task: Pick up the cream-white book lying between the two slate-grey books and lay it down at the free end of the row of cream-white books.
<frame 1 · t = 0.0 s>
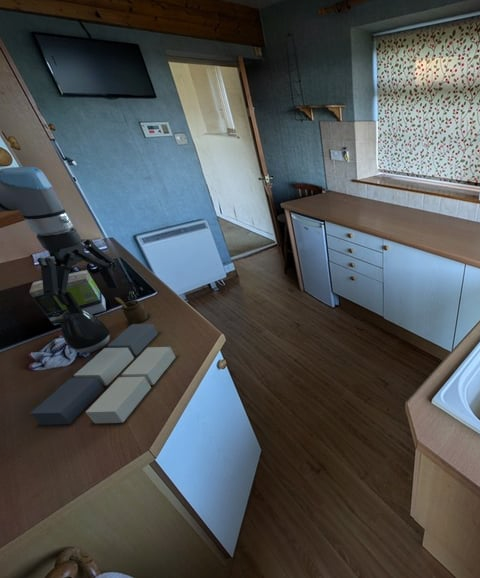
hand: (96, 299, 87), 19 cm above the worktop, tool pointing down, fingers open, 13 cm apart
grey book b: (137, 344, 98), on the worktop
white book a: (124, 404, 78), on the worktop
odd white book: (109, 371, 88), on the worktop
utensil holder: (138, 320, 110), on the worktop
white book b: (153, 370, 88), on the worktop
tea box: (81, 313, 113), on the worktop
grey book a: (74, 405, 78), on the worktop
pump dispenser: (95, 347, 97), on the worktop
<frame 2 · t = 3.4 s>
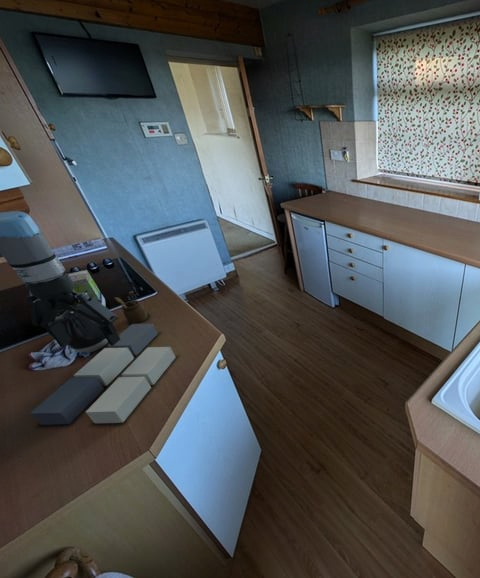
hand: (91, 343, 82), 11 cm above the worktop, tool pointing down, fingers open, 13 cm apart
nothing on the worktop moved.
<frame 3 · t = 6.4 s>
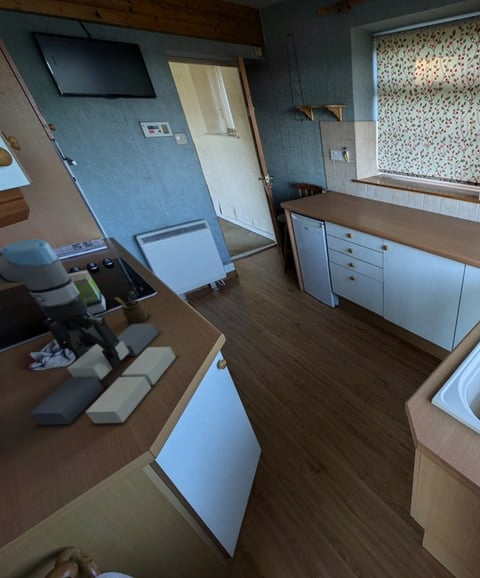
hand: (103, 364, 86), 3 cm above the worktop, tool pointing down, fingers closed on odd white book, 7 cm apart
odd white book: (103, 365, 87), point 3 cm above the worktop, touching gripper
everything else where it was.
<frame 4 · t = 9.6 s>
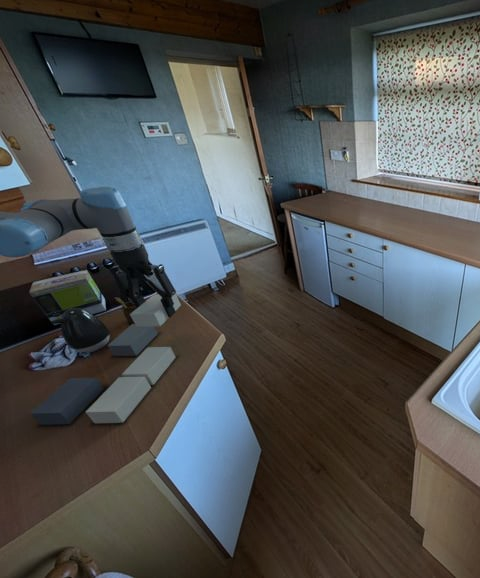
hand: (159, 314, 92), 13 cm above the worktop, tool pointing down, fingers closed on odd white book, 7 cm apart
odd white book: (159, 315, 92), point 12 cm above the worktop, touching gripper
everything else where it was.
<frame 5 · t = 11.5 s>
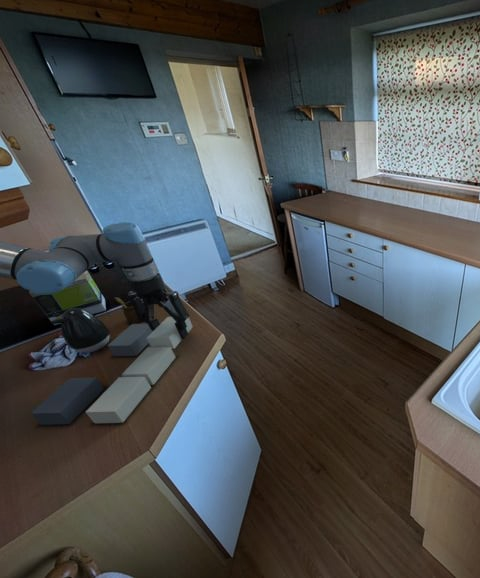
hand: (173, 336, 97), 3 cm above the worktop, tool pointing down, fingers closed on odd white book, 7 cm apart
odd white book: (173, 337, 97), point 3 cm above the worktop, touching gripper
everything else where it was.
when the fingers open (0 cm above the worktop, at t = 12.7 s): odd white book stays where it is, on the worktop.
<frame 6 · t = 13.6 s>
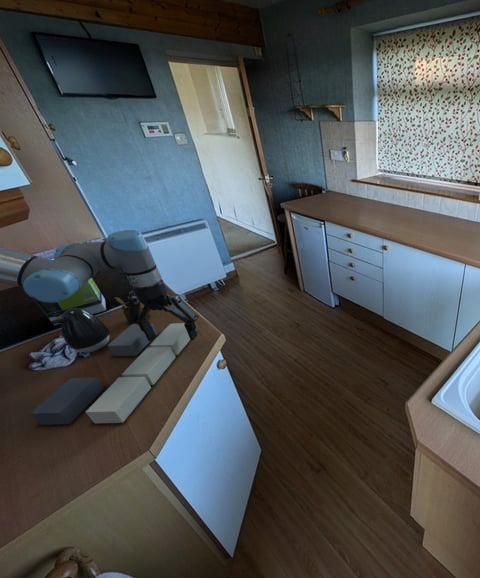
hand: (173, 338, 97), 3 cm above the worktop, tool pointing down, fingers open, 13 cm apart
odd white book: (176, 343, 99), on the worktop
everything else where it was.
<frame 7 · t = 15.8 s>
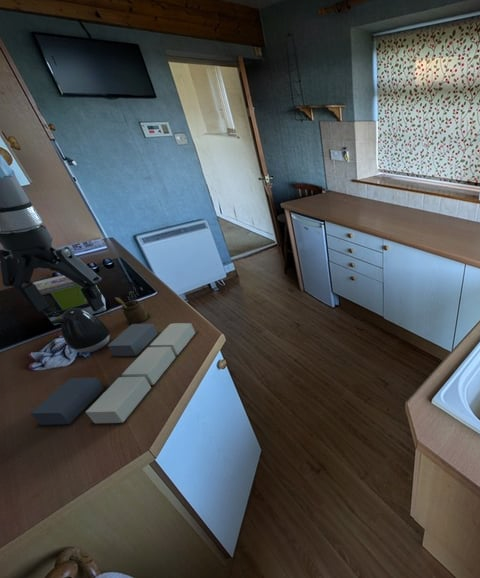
hand: (71, 308, 74), 24 cm above the worktop, tool pointing down, fingers open, 13 cm apart
nothing on the worktop moved.
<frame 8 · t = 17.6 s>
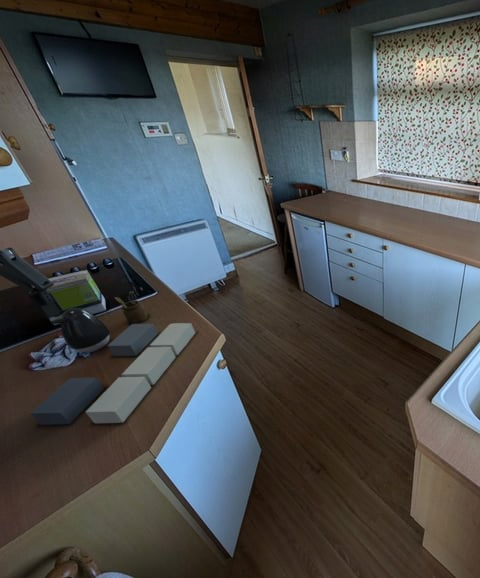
hand: (22, 315, 67), 27 cm above the worktop, tool pointing down, fingers open, 13 cm apart
nothing on the worktop moved.
at the end: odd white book inside the target area (0.0 cm from its centre), on the worktop; the gripper is holding nothing; grey book b moved 0.0 cm from its start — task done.
